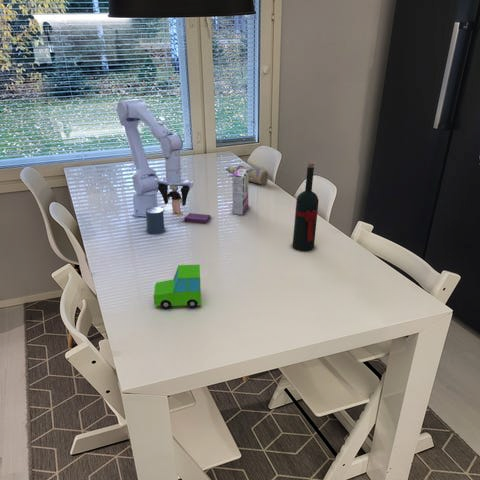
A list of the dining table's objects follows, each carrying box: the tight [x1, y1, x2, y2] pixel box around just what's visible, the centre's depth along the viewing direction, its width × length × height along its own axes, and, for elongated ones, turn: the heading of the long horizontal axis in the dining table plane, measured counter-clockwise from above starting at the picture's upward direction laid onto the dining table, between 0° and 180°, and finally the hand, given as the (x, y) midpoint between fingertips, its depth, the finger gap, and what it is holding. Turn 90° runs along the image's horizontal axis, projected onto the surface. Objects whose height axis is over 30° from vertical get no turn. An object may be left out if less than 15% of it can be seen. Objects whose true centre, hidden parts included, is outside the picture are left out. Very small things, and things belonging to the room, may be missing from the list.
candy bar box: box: [232, 169, 249, 216], centre depth 204 cm, size 11×5×16 cm, turn 168°
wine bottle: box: [292, 162, 320, 252], centre depth 167 cm, size 8×10×30 cm
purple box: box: [183, 212, 211, 225], centre depth 198 cm, size 9×7×2 cm
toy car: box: [153, 264, 202, 310], centre depth 139 cm, size 10×13×10 cm
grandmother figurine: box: [167, 185, 184, 217], centre depth 186 cm, size 8×4×13 cm, turn 65°
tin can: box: [145, 206, 166, 235], centre depth 185 cm, size 7×7×8 cm
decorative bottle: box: [225, 164, 269, 186], centre depth 246 cm, size 26×8×7 cm, turn 47°
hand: (175, 204), depth 188 cm, fingers closed on grandmother figurine, 6 cm apart
